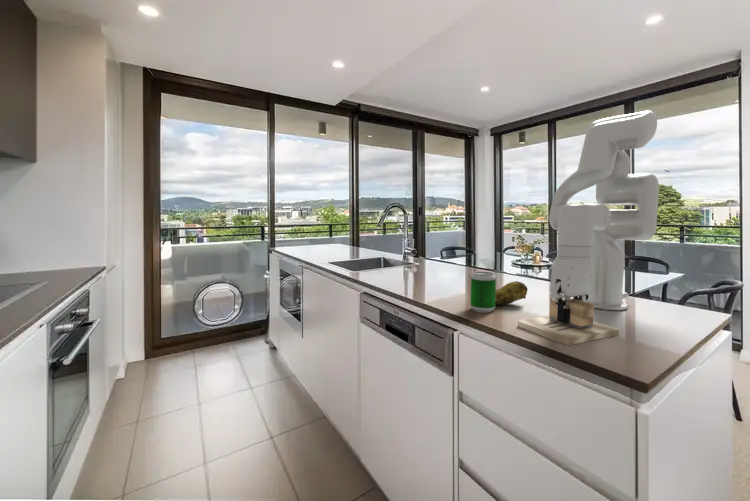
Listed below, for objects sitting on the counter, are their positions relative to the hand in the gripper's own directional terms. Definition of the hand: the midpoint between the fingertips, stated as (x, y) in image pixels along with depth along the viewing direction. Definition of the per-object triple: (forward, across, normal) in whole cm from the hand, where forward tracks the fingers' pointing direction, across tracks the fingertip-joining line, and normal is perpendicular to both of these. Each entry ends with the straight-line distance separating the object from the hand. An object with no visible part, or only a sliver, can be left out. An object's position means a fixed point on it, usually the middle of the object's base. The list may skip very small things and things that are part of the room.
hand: (570, 320), depth 88 cm
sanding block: (+1, 0, 0) cm, 1 cm away
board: (+2, +2, 0) cm, 3 cm away
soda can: (+3, +9, -24) cm, 26 cm away
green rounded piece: (+3, -3, -26) cm, 26 cm away
